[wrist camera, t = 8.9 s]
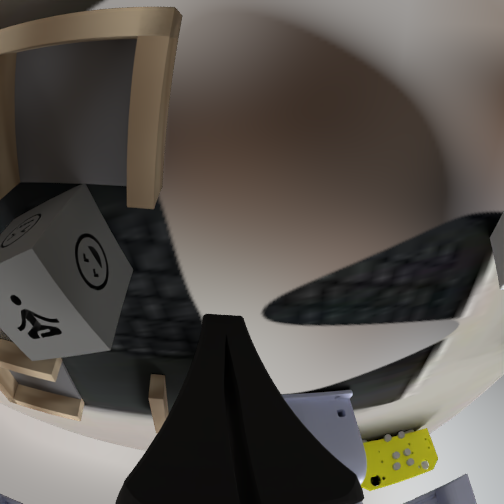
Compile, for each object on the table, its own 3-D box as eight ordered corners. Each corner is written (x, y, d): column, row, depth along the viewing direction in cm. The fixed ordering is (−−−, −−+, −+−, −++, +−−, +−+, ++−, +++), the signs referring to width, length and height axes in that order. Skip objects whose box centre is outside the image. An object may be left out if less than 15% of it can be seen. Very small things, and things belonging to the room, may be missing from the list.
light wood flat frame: (182, 15, 8) (174, 6, 7) (168, 414, 24) (167, 434, 22) (-85, 71, 5) (-108, 79, 4) (15, 385, 21) (9, 401, 19)
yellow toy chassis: (427, 422, 38) (442, 464, 31) (406, 437, 41) (419, 477, 34) (346, 439, 34) (360, 492, 27) (327, 452, 37) (339, 501, 30)
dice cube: (62, 290, 15) (32, 361, 11) (14, 218, 12) (-37, 282, 8) (133, 269, 15) (110, 350, 11) (85, 181, 12) (32, 248, 8)
